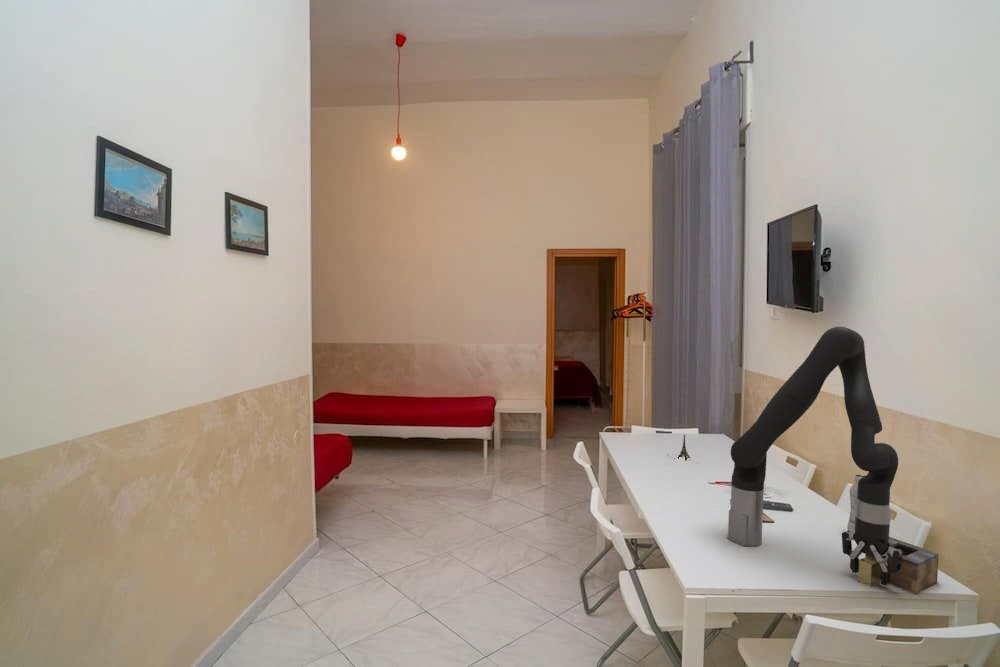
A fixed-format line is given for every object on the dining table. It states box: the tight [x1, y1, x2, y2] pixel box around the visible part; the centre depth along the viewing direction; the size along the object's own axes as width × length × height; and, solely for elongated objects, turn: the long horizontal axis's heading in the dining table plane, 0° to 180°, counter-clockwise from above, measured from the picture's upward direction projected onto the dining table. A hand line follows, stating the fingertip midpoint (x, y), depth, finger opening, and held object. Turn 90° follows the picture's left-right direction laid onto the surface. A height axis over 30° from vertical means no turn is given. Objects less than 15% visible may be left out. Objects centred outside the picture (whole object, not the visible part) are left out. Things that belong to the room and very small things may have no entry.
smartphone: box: [762, 512, 775, 524], centre depth 184 cm, size 8×1×15 cm
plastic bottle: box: [847, 474, 866, 534], centre depth 166 cm, size 6×7×20 cm
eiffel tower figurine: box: [677, 432, 691, 461], centre depth 254 cm, size 15×10×13 cm
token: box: [857, 556, 881, 588], centre depth 139 cm, size 5×3×6 cm, turn 119°
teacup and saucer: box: [764, 484, 770, 495], centre depth 205 cm, size 9×8×4 cm
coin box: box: [864, 536, 940, 595], centre depth 141 cm, size 12×12×8 cm
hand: (869, 577), depth 139 cm, fingers open, 6 cm apart
